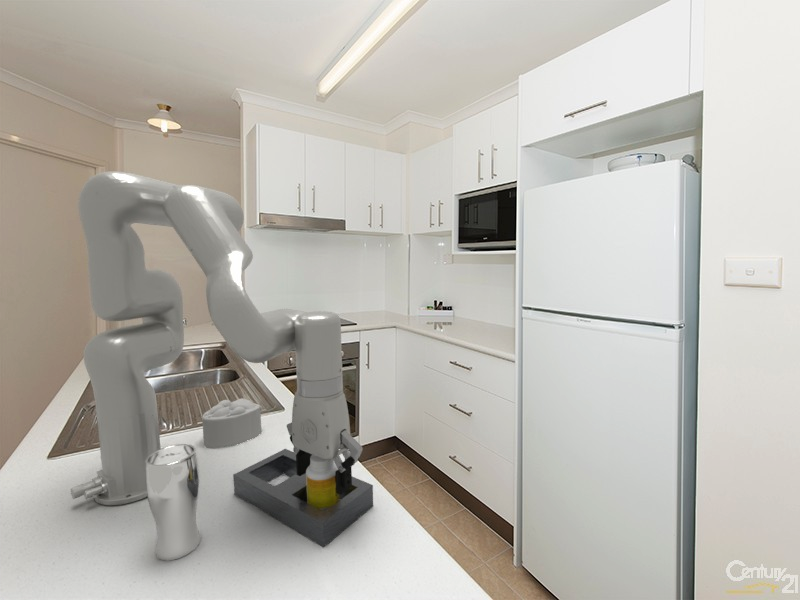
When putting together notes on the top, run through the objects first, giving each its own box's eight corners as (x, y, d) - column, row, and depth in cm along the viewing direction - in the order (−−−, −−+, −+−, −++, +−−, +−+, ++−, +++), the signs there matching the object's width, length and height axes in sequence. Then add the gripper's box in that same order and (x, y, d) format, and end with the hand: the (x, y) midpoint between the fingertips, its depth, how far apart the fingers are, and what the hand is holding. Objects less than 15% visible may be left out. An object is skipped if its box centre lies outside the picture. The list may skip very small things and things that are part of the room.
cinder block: (323, 547, 59) (322, 522, 59) (234, 494, 73) (233, 474, 73) (373, 506, 69) (372, 485, 69) (286, 466, 83) (285, 448, 82)
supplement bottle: (341, 518, 66) (339, 461, 65) (308, 525, 64) (305, 466, 63) (338, 499, 71) (336, 446, 70) (307, 504, 70) (305, 450, 69)
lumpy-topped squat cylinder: (266, 434, 99) (264, 401, 98) (214, 453, 89) (212, 417, 88) (245, 423, 106) (244, 392, 105) (196, 440, 96) (193, 406, 95)
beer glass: (211, 529, 64) (205, 442, 62) (190, 562, 57) (182, 465, 55) (168, 531, 63) (161, 443, 62) (141, 564, 57) (132, 467, 55)
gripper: (269, 382, 67) (274, 475, 69) (342, 402, 57) (345, 510, 59) (302, 371, 73) (306, 457, 75) (374, 388, 63) (376, 486, 65)
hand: (323, 480), depth 67 cm, fingers open, 9 cm apart
